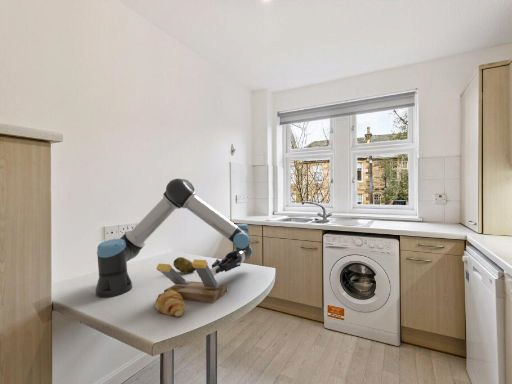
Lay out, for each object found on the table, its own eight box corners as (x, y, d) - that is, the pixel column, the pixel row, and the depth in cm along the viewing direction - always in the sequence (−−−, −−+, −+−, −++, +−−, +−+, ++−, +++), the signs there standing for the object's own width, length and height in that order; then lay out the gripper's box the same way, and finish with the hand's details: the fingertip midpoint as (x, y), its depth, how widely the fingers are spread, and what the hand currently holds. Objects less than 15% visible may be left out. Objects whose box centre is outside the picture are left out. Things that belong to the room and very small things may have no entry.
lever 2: (207, 283, 112) (193, 259, 104) (220, 284, 110) (206, 260, 102) (204, 288, 111) (190, 264, 103) (217, 289, 108) (204, 265, 100)
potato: (185, 276, 139) (184, 261, 139) (171, 272, 147) (170, 258, 147) (198, 271, 146) (197, 257, 146) (183, 268, 154) (183, 254, 154)
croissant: (189, 325, 94) (198, 302, 96) (164, 321, 88) (174, 297, 90) (166, 306, 110) (174, 287, 112) (144, 301, 104) (152, 281, 107)
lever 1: (176, 280, 118) (157, 263, 108) (188, 281, 116) (170, 264, 106) (174, 285, 117) (155, 268, 107) (186, 286, 115) (167, 269, 104)
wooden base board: (182, 286, 123) (182, 279, 123) (227, 291, 114) (227, 284, 114) (164, 297, 112) (164, 289, 112) (213, 303, 103) (212, 294, 103)
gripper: (247, 266, 128) (224, 283, 106) (223, 265, 133) (197, 281, 111) (246, 251, 128) (223, 265, 106) (222, 250, 133) (196, 264, 111)
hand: (210, 273), depth 109 cm, fingers closed
